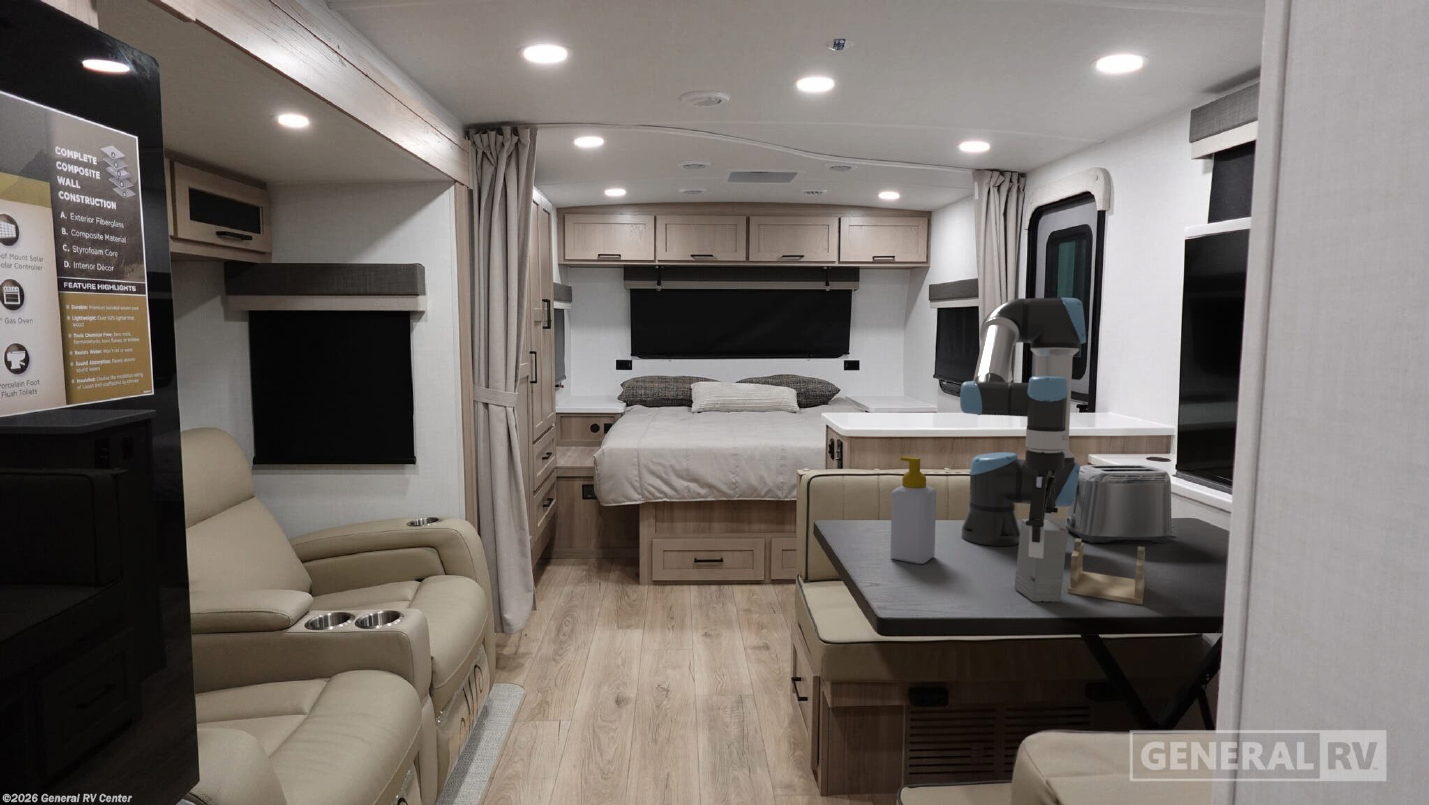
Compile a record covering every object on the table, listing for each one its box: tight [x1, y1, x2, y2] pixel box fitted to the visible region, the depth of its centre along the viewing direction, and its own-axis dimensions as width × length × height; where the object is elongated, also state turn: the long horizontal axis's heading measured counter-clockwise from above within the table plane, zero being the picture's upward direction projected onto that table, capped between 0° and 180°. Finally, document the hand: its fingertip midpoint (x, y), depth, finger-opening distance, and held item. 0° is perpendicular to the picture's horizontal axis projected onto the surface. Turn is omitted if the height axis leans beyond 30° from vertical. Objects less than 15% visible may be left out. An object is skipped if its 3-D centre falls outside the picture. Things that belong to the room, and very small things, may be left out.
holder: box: [1067, 537, 1146, 606], centre depth 164 cm, size 14×14×10 cm
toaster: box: [1064, 464, 1174, 544], centre depth 204 cm, size 17×30×19 cm, turn 88°
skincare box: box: [1014, 518, 1069, 603], centre depth 160 cm, size 8×7×16 cm
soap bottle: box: [889, 456, 937, 565], centre depth 186 cm, size 9×9×25 cm
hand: (1041, 549), depth 159 cm, fingers open, 13 cm apart
